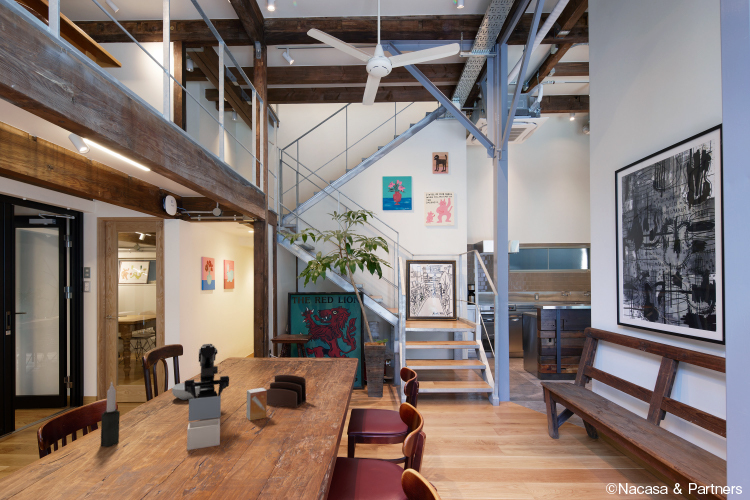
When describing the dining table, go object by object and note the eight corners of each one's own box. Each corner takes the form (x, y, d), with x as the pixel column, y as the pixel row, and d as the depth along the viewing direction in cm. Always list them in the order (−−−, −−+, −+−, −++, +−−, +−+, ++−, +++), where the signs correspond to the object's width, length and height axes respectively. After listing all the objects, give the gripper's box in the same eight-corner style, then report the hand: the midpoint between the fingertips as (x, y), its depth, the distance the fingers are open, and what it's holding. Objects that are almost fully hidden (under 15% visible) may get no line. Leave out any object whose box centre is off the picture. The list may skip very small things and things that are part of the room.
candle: (120, 442, 162) (121, 381, 164) (108, 447, 158) (110, 384, 159) (111, 441, 164) (113, 380, 166) (99, 446, 159) (101, 383, 161)
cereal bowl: (195, 402, 214) (195, 389, 215) (165, 402, 214) (165, 389, 215) (209, 393, 231) (209, 380, 232) (181, 393, 231) (181, 381, 232)
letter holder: (275, 399, 219) (275, 373, 220) (306, 402, 212) (306, 375, 213) (264, 404, 209) (264, 377, 210) (296, 408, 203) (296, 380, 204)
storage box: (188, 442, 162) (188, 422, 162) (219, 437, 166) (219, 418, 167) (187, 450, 154) (187, 429, 155) (219, 444, 159) (219, 424, 159)
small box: (249, 421, 185) (250, 393, 186) (246, 417, 190) (246, 389, 191) (266, 417, 189) (267, 390, 190) (262, 413, 195) (262, 387, 196)
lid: (188, 421, 163) (188, 420, 164) (220, 417, 167) (220, 416, 168) (189, 399, 164) (189, 399, 165) (220, 396, 169) (220, 395, 170)
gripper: (185, 362, 175) (183, 394, 165) (229, 358, 183) (230, 389, 172) (185, 375, 182) (183, 407, 172) (228, 371, 190) (229, 401, 179)
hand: (207, 401), depth 174 cm, fingers open, 9 cm apart
